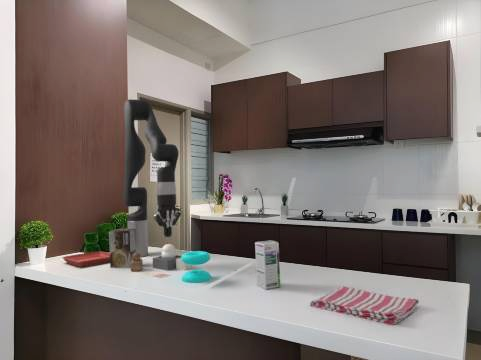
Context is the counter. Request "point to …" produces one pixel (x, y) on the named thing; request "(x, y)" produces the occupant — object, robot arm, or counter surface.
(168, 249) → the dome
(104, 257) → the plant saucer
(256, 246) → the syrup box
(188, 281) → the donuts
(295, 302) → the counter surface
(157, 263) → the board
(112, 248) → the coffee box
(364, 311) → the dish towel
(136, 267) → the pawn
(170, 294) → the counter surface
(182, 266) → the die
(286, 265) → the counter surface
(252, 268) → the counter surface
